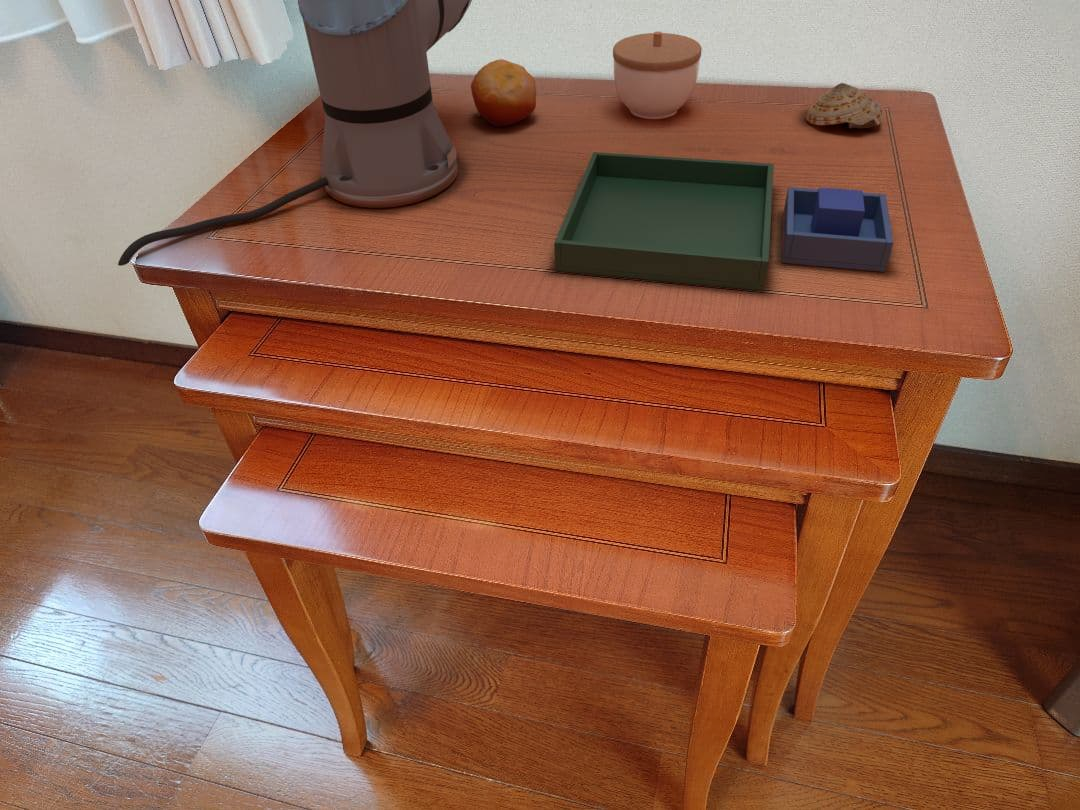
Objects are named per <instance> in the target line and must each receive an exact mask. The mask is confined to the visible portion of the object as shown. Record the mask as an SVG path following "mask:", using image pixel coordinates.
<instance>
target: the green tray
mask: <svg viewBox="0 0 1080 810" xmlns="http://www.w3.org/2000/svg"><path fill="white" fill-rule="evenodd" d="M774 170H775V163H770V162H755V161H754V162H753V161H741V160H740V161H739V160H738V161H737V160H722V159H710V158H709V159H708V158H707V159H706V158H691V157H690V158H689V157H679V156H678V157H676V156H662V155H661V156H660V155H647V154H645V155H644V154H630V153H614V152H597V151H593V152H592V153H591V156H590V158H589V160H588V163H587V165H586V167H585V170H584V172H583V174H582V176H581V179H580V181H579V183H578V186H577V188H576V191H575V192H574V196H573V198H572V200H571V203H570V205H569V207H568V209H567V211H566V214H565V217H564V219H563V221H562V224H561V226H560V228H559V230H558V233H557V236H556V238H555V240H554V242H553V243H554V244H553V246H554V271H555V272H564V273H572V274H574V273H575V274H584V275H593V276H595V275H596V276H605V277H616V278H624V279H625V278H627V279H635V280H648V281H656V282H657V281H658V282H667V283H676V284H688V285H698V286H708V287H709V286H710V287H719V288H731V289H739V290H740V289H741V290H752V291H761V292H763V291H764V290H765V285H766V279H767V274H768V267H769V262H770V261H769V260H770V244H771V228H772V227H771V225H772V223H771V222H772V211H773V210H772V207H773V190H774V189H773V188H774V172H775V171H774Z"/></svg>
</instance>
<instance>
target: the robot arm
mask: <svg viewBox="0 0 1080 810" xmlns="http://www.w3.org/2000/svg"><path fill="white" fill-rule="evenodd" d="M472 3H473V0H297V6H298V11H299V14H300V16H301V18H302V22H303V27H304V30H305V36H306V40H307V44H308V48H309V52H310V56H311V61H312V65H313V69H314V73H315V78H316V83H317V86H318V90H319V95H320V99H321V104H322V108H323V113H324V129H323V136H322V137H323V139H322V148H321V157H320V159H321V160H320V172H321V173H320V174H321V178H320V179H317V180H314V181H313V182H311V183H308V184H306V185H304V186H302V187H299V188H297V189H295V190H293V191H291V192H288V193H286V194H284V195H283V196H280V197H279V198H277V199H275V200H273V201H271V202H269V203H267V204H265V205H263V206H260V207H257V208H255V209H253V210H250V211H249V210H248V211H246V212H241V213H233V214H226V215H221V216H218V217H213V218H209V219H206V220H201V221H198V222H195V223H192V224H188V225H184V226H180V227H175V228H174V227H173V228H168V229H162V230H158V231H154V232H151V233H148V234H145V235H143V236H141V237H139V238H138V239H136V240H134V241H133V242H132V243H130V244H129V246H127V248H126V249H125V250H124V251H123V253H122V254H121V256H120V258H119V260H118V262H117V266H118V267H120V266H121V267H122V266H125V265H127V264H129V263H130V261H131V260H132V259H133V257H134V256H135V255H136V254H137V252H139V251H140V250H141V249H143V248H144V247H145V246H148V245H149V244H152V243H154V242H155V243H156V242H158V241H162V240H167V239H173V238H177V237H183V236H187V235H191V234H192V235H193V234H195V233H198V232H201V231H204V230H208V229H212V228H216V227H220V226H225V225H230V224H236V223H243V222H249V221H253V220H256V219H259V218H261V217H264V216H266V215H268V214H270V213H272V212H275V211H277V210H278V209H281V208H282V207H284V206H285V205H288V204H290V203H292V202H293V201H296V200H298V199H300V198H302V197H305V196H306V195H310V194H311V193H314V192H315V191H318V190H320V189H324V190H325V192H326V193H327V194H328V196H330V197H331V198H333V199H334V200H336V201H338V202H339V203H340V202H341V203H343V204H345V205H349V206H355V207H360V208H369V209H370V208H371V209H373V208H375V209H377V208H379V209H380V208H382V209H383V208H393V207H401V206H407V205H411V204H414V203H418V202H422V201H424V200H427V199H429V198H432V197H434V196H435V195H438V194H440V193H442V192H443V191H445V190H446V189H447V188H448V187H450V186H451V185H452V184H453V182H454V181H455V180H456V178H457V175H458V172H459V170H458V169H459V168H458V159H457V148H456V144H454V145H453V143H452V141H451V138H450V137H449V135H448V133H447V130H446V128H445V126H444V124H443V122H442V119H441V117H440V115H439V113H438V111H437V109H436V107H435V104H434V99H433V92H432V86H431V78H430V77H431V76H430V70H429V61H428V53H427V52H429V50H430V49H431V48H432V47H434V46H435V44H437V43H438V42H439V41H440V40H441V39H442V38H443V37H444V36H445V35H446V34H447V33H450V32H452V31H453V30H454V29H455V28H456V27H457V26H458V24H460V23H461V21H462V20H463V19H464V16H465V15H466V13H467V11H468V10H469V8H470V6H471V4H472Z"/></svg>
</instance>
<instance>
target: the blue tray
mask: <svg viewBox="0 0 1080 810" xmlns="http://www.w3.org/2000/svg"><path fill="white" fill-rule="evenodd" d="M817 193H818V188H804V187H792V186H791V187H790V186H788V187H787V191H786V197H785V202H784V208H783V213H782V234H781V235H782V236H781V264H789V265H790V264H791V265H801V266H812V267H825V268H826V267H827V268H836V269H847V270H857V271H869V272H881V273H885V272H886V270H887V266H888V263H889V260H890V256H891V253H892V249H893V246H894V238H893V233H892V231H893V230H892V226H891V220H890V213H889V206H888V200H887V195H886V193H875V192H863V199H864V208H865V213H864V217H863V221H862V225H861V228H860V232H859V236H858V237H855V236H843V235H830V234H818V233H811V221H812V217H813V212H814V207H815V202H816V198H817Z"/></svg>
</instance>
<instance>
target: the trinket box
mask: <svg viewBox="0 0 1080 810" xmlns="http://www.w3.org/2000/svg"><path fill="white" fill-rule="evenodd" d="M702 51H703V50H702V45H701V44H700V43H699V42H698V40H695V39H694V38H692V37H688V36H686V35H681V34H676V33H668V32H662V31H654V32H647V33H640V34H634V35H630V36H627V37H624V38H622V39H620V40H619V41H617V42H616V43H615V44H614V45H613V47H612V58H613V77H614V84H615V85H614V86H615V88H616V92H617V95H618V97H619V99H620V100H621V102H622V103H623V104H624V105H625V107H627V108H628V109H629V112H630V114H632V115H633V116H635V117H638V118H641V119H645V120H646V119H647V120H662V119H668V118H671V117H673V116H674V115H676V114H677V113H678V110H679V109H680V108H681V107H683V106H684V105H685V104H686V103H687V102H688V100H689V99H690V97H691V96H692V94H693V92H694V90H695V86H696V83H697V80H698V77H699V69H700V60H701V58H702Z"/></svg>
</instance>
